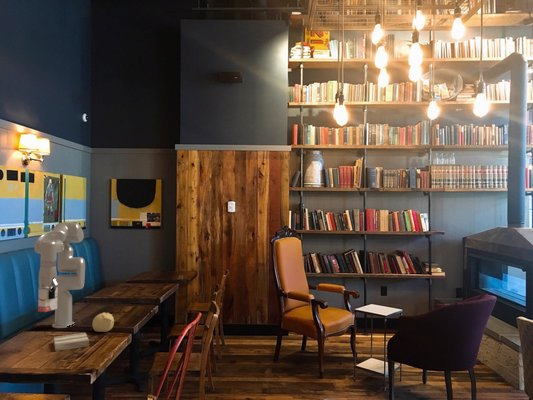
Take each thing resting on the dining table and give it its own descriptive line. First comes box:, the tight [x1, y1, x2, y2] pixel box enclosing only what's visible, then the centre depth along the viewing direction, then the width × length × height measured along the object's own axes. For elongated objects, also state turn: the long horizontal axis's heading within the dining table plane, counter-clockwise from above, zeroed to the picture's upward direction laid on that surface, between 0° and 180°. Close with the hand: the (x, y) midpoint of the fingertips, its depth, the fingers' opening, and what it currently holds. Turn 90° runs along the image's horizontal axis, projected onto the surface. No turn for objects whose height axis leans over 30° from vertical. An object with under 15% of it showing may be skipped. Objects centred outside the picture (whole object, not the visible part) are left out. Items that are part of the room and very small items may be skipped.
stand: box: [53, 332, 90, 352], centre depth 226 cm, size 16×16×3 cm
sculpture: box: [92, 312, 115, 333], centre depth 252 cm, size 11×12×11 cm
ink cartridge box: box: [37, 283, 58, 313], centre depth 225 cm, size 9×5×15 cm, turn 163°
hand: (48, 297), depth 225 cm, fingers closed on ink cartridge box, 5 cm apart
